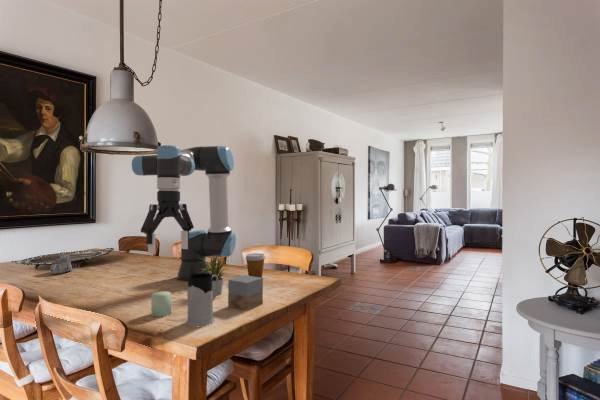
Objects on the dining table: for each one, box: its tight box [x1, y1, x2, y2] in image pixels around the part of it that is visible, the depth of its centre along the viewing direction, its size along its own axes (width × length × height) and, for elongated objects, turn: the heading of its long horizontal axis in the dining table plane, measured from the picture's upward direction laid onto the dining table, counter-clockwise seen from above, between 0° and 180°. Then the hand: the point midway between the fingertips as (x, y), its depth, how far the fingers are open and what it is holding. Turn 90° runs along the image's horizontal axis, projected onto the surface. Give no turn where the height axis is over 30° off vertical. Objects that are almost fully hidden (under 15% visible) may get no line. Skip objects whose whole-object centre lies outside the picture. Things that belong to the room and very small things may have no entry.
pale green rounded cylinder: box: [150, 290, 172, 318], centre depth 124 cm, size 6×6×7 cm
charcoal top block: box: [227, 274, 264, 297], centre depth 134 cm, size 9×9×5 cm
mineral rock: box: [49, 253, 73, 274], centre depth 190 cm, size 13×11×10 cm
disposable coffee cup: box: [245, 252, 266, 278], centre depth 175 cm, size 10×10×12 cm
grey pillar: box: [186, 273, 218, 328], centre depth 118 cm, size 9×14×15 cm, turn 159°
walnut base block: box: [227, 290, 264, 311], centre depth 133 cm, size 9×9×5 cm
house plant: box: [199, 256, 229, 296], centre depth 149 cm, size 14×14×16 cm
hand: (168, 251), depth 125 cm, fingers open, 13 cm apart
